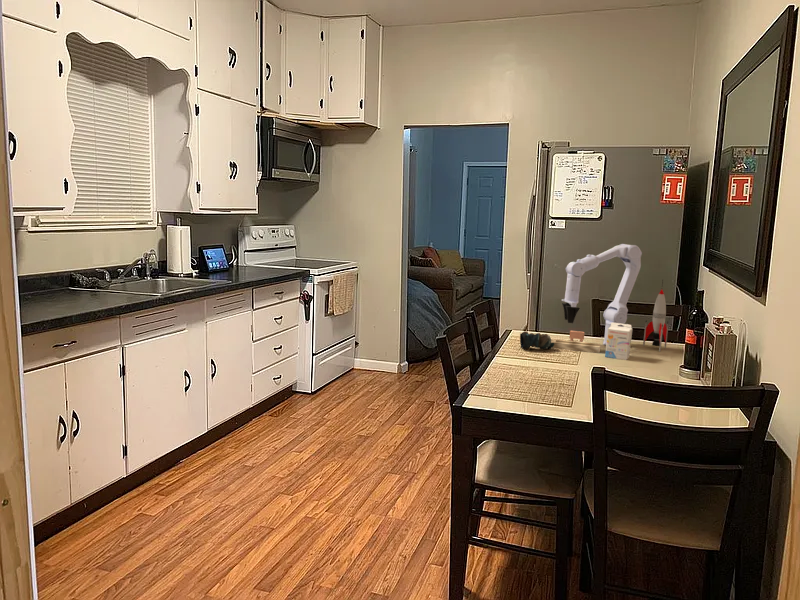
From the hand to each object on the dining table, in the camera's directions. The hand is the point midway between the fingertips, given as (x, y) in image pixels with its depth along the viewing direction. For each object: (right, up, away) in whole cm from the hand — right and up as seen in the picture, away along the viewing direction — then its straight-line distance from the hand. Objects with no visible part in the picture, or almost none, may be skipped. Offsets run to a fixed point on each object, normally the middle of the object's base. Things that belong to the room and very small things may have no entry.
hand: (568, 321), depth 263 cm
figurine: (-16, -12, -9) cm, 22 cm away
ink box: (+15, -14, -16) cm, 26 cm away
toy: (+38, -12, -1) cm, 39 cm away
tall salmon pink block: (+4, -10, +4) cm, 12 cm away
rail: (+1, -11, -5) cm, 13 cm away
